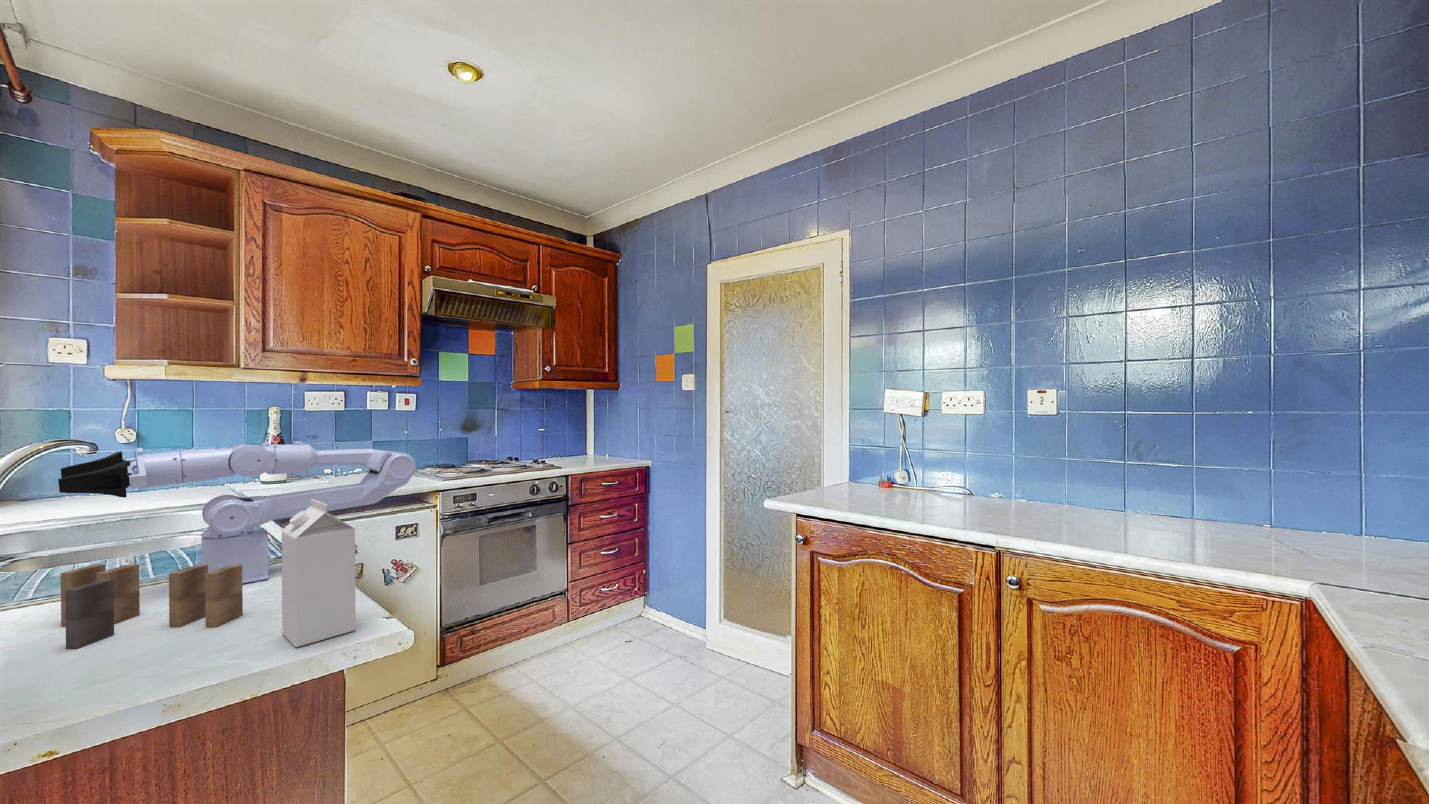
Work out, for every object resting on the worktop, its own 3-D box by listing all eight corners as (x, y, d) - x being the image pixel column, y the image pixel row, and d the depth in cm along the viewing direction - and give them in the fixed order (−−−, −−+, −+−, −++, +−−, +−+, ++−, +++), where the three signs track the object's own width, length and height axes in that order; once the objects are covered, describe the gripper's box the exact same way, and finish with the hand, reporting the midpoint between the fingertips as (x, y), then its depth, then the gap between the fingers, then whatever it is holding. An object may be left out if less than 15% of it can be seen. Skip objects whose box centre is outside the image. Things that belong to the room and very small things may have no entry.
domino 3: (198, 615, 85) (197, 564, 85) (208, 615, 85) (207, 564, 85) (169, 627, 80) (168, 573, 80) (179, 627, 80) (179, 573, 80)
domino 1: (95, 614, 85) (94, 564, 85) (105, 615, 85) (104, 564, 85) (61, 626, 81) (60, 573, 81) (71, 626, 81) (71, 573, 81)
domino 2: (129, 615, 85) (129, 564, 85) (139, 615, 85) (139, 564, 85) (97, 626, 81) (96, 573, 81) (107, 626, 81) (107, 573, 81)
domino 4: (232, 615, 85) (232, 564, 85) (242, 615, 85) (242, 564, 85) (205, 627, 80) (205, 573, 80) (216, 627, 80) (215, 573, 80)
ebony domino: (103, 634, 78) (102, 579, 78) (114, 634, 78) (113, 579, 78) (65, 649, 73) (65, 590, 73) (77, 649, 73) (76, 590, 73)
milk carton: (339, 619, 83) (339, 495, 83) (356, 631, 79) (355, 501, 79) (281, 634, 78) (280, 502, 78) (295, 649, 73) (294, 508, 73)
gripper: (175, 438, 100) (59, 447, 90) (182, 453, 90) (55, 465, 80) (177, 475, 101) (64, 488, 91) (185, 493, 91) (59, 510, 81)
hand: (60, 480), depth 86 cm, fingers open, 7 cm apart
